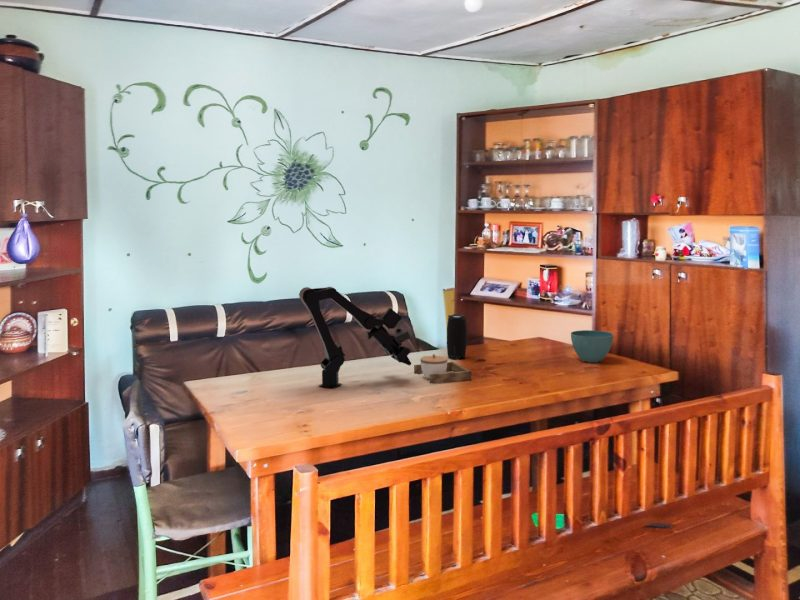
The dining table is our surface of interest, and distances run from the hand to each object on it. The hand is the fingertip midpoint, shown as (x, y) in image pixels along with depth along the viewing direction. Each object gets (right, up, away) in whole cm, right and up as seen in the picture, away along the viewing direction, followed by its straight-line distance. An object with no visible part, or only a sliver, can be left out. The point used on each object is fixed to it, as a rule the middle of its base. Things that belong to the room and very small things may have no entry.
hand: (410, 364), depth 283 cm
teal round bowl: (+81, -2, +35) cm, 88 cm away
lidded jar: (+9, -6, +4) cm, 12 cm away
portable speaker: (+21, -1, +41) cm, 46 cm away
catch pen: (+12, -5, +5) cm, 14 cm away
